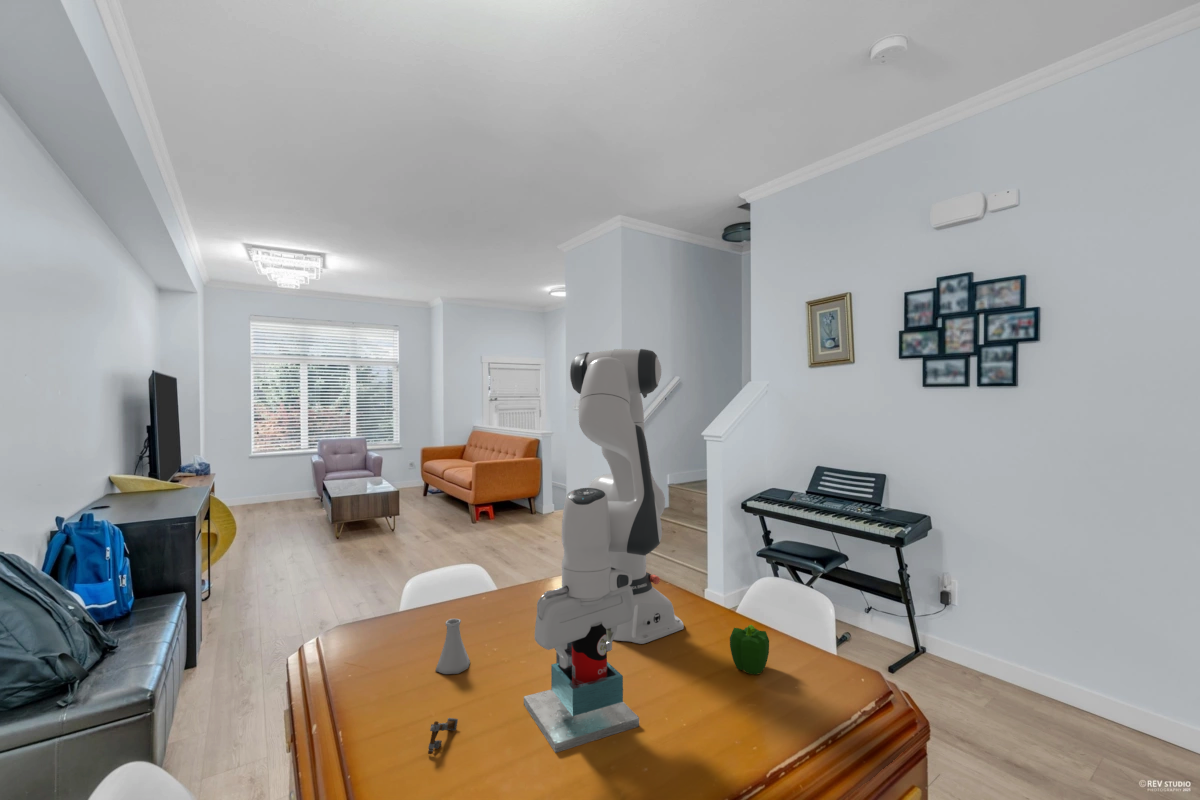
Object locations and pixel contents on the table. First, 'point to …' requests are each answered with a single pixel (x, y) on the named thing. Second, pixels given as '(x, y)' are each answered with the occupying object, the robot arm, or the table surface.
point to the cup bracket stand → (580, 708)
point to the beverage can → (590, 656)
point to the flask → (453, 651)
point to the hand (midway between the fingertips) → (586, 658)
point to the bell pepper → (749, 649)
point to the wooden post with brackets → (436, 727)
